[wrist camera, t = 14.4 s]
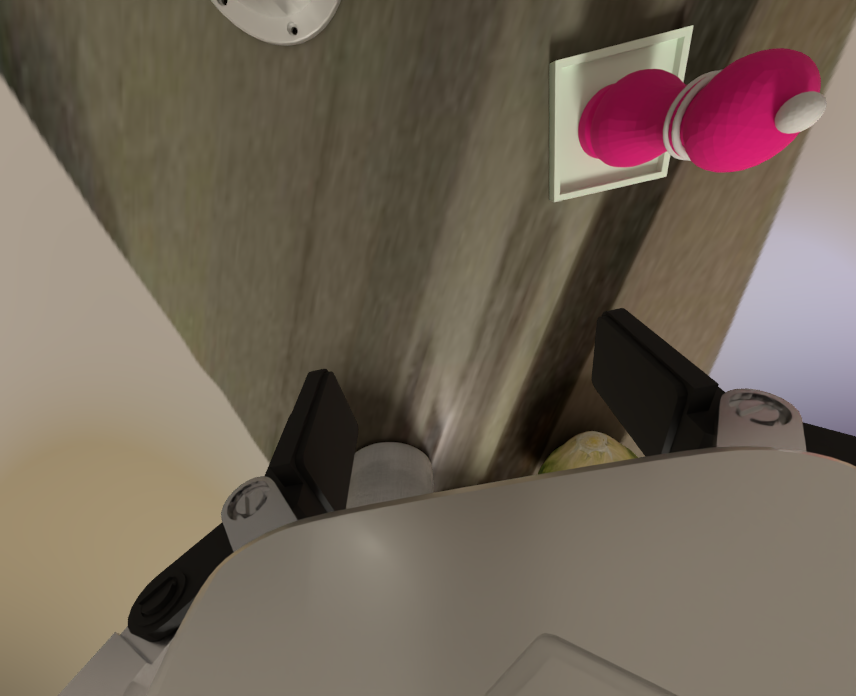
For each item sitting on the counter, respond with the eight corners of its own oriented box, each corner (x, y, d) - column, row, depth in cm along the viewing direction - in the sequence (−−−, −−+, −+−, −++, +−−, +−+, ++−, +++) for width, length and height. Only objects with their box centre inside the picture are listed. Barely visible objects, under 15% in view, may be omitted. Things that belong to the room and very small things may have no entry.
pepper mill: (591, 68, 30) (816, -11, 14) (660, 85, 31) (948, 30, 15) (561, 157, 34) (708, 180, 18) (623, 169, 35) (818, 202, 19)
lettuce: (628, 394, 56) (689, 483, 40) (633, 487, 65) (684, 588, 49) (513, 413, 60) (528, 498, 44) (534, 497, 70) (552, 591, 54)
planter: (428, 433, 57) (435, 521, 44) (434, 487, 66) (441, 574, 53) (337, 442, 57) (317, 532, 44) (356, 495, 66) (343, 583, 53)
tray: (549, 63, 30) (555, 60, 29) (681, 29, 30) (693, 25, 28) (549, 199, 37) (554, 202, 36) (657, 174, 36) (666, 176, 35)
